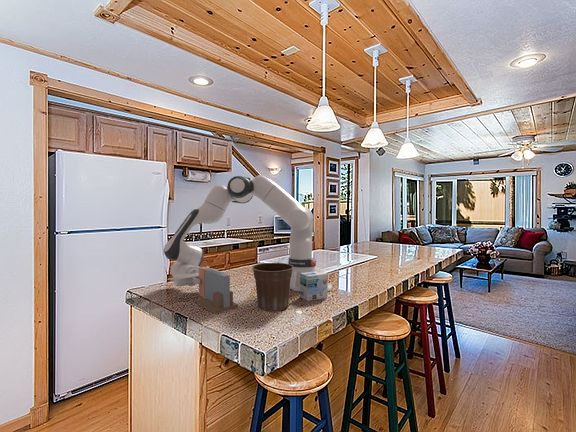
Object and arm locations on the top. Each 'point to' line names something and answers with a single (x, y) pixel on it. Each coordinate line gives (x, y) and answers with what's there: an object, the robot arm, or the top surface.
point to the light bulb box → (313, 285)
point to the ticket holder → (217, 292)
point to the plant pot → (272, 285)
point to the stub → (202, 276)
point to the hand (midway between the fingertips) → (205, 281)
